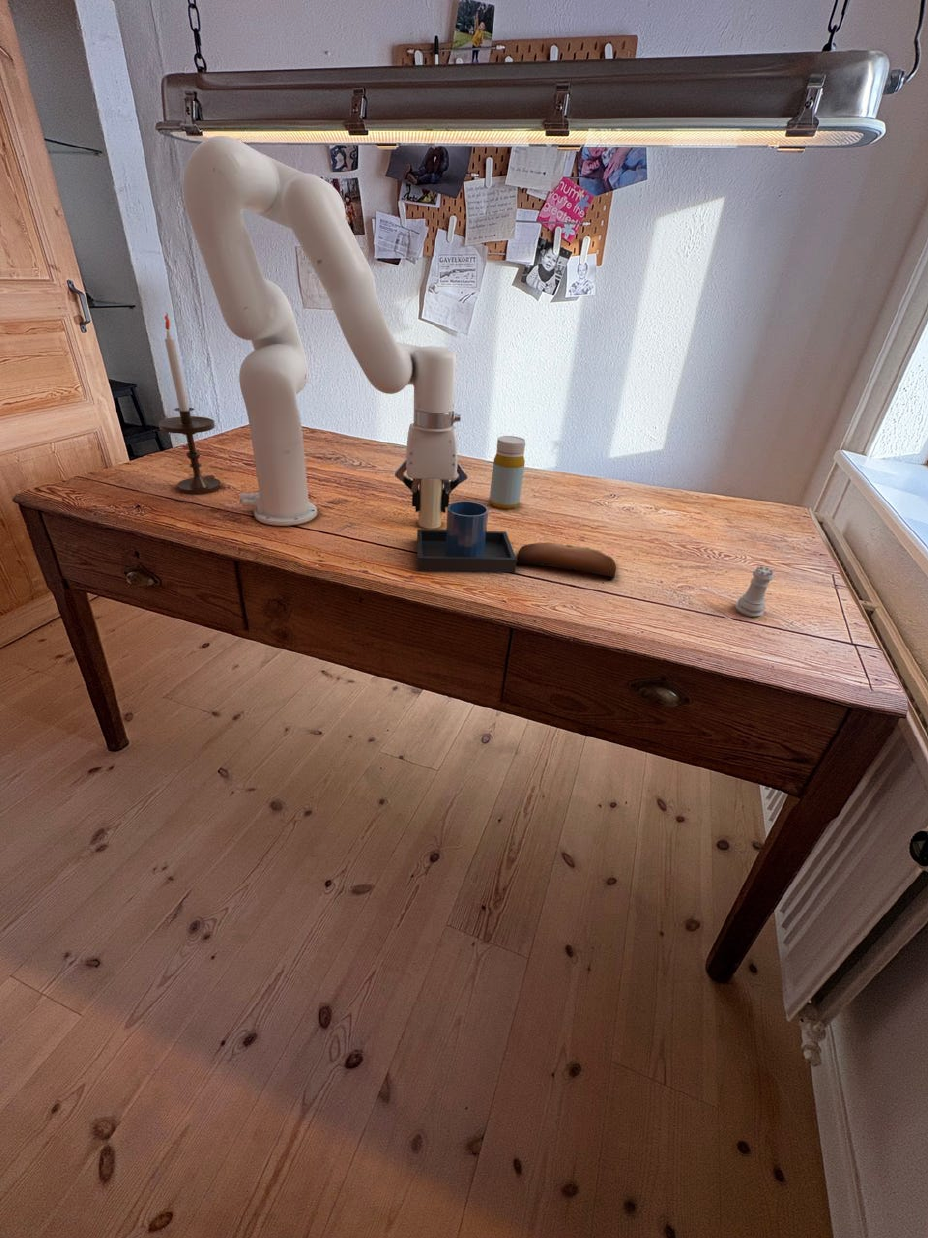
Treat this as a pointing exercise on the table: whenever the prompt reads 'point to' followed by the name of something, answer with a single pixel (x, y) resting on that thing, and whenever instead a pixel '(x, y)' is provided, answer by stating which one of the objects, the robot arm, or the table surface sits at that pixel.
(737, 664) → the table surface
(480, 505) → the big cup
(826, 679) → the table surface
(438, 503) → the small cup
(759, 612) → the rook chess piece
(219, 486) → the candlestick
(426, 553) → the tray
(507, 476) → the bottle
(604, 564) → the sunglasses case
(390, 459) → the table surface
